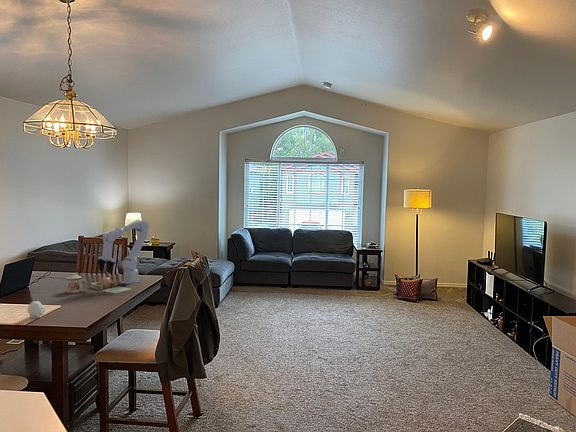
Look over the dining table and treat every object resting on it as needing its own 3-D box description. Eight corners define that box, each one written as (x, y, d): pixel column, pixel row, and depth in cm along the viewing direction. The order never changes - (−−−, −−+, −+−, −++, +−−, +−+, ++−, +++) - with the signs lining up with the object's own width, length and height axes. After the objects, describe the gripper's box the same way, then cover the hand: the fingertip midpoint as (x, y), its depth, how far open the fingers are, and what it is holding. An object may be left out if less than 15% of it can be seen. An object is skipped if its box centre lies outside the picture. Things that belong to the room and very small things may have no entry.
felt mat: (119, 286, 303) (119, 286, 303) (132, 289, 296) (132, 288, 296) (101, 290, 292) (101, 290, 292) (114, 293, 286) (114, 293, 286)
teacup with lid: (65, 293, 285) (64, 275, 284) (67, 290, 293) (66, 272, 292) (86, 292, 288) (85, 274, 287) (87, 289, 297) (87, 271, 296)
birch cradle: (105, 284, 311) (105, 280, 310) (116, 286, 304) (116, 282, 304) (89, 287, 301) (89, 283, 300) (100, 290, 294) (100, 286, 294)
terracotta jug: (107, 286, 305) (106, 277, 305) (111, 287, 303) (111, 278, 302) (98, 288, 300) (98, 279, 299) (103, 289, 297) (102, 279, 297)
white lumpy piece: (26, 302, 232) (36, 298, 244) (26, 319, 232) (36, 314, 244) (39, 302, 233) (48, 298, 245) (39, 318, 233) (48, 314, 245)
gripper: (95, 249, 302) (92, 270, 301) (109, 252, 294) (106, 273, 293) (104, 250, 307) (102, 270, 307) (118, 252, 300) (116, 273, 299)
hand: (104, 271), depth 301 cm, fingers open, 7 cm apart
